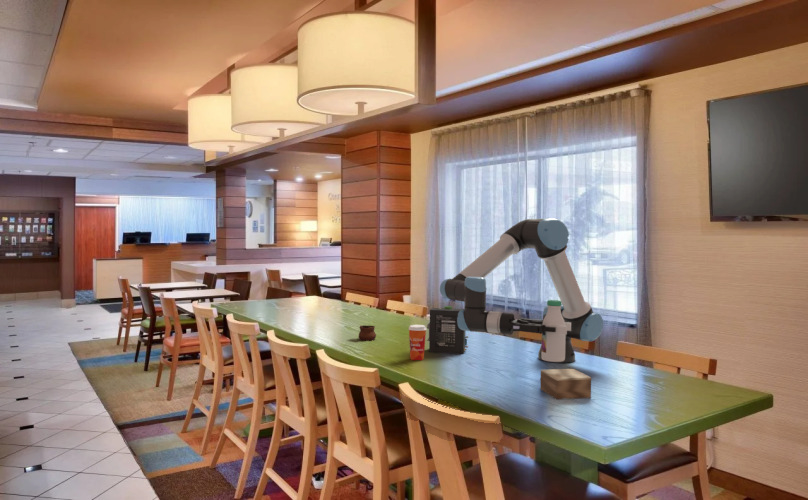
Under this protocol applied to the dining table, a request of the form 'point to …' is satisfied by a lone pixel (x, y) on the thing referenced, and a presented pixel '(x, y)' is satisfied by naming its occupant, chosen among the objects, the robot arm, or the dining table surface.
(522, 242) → the robot arm
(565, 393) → the block
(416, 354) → the paper cup
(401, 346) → the dining table surface
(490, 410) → the dining table surface
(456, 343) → the router
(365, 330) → the ceramic pot
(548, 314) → the milk bottle
